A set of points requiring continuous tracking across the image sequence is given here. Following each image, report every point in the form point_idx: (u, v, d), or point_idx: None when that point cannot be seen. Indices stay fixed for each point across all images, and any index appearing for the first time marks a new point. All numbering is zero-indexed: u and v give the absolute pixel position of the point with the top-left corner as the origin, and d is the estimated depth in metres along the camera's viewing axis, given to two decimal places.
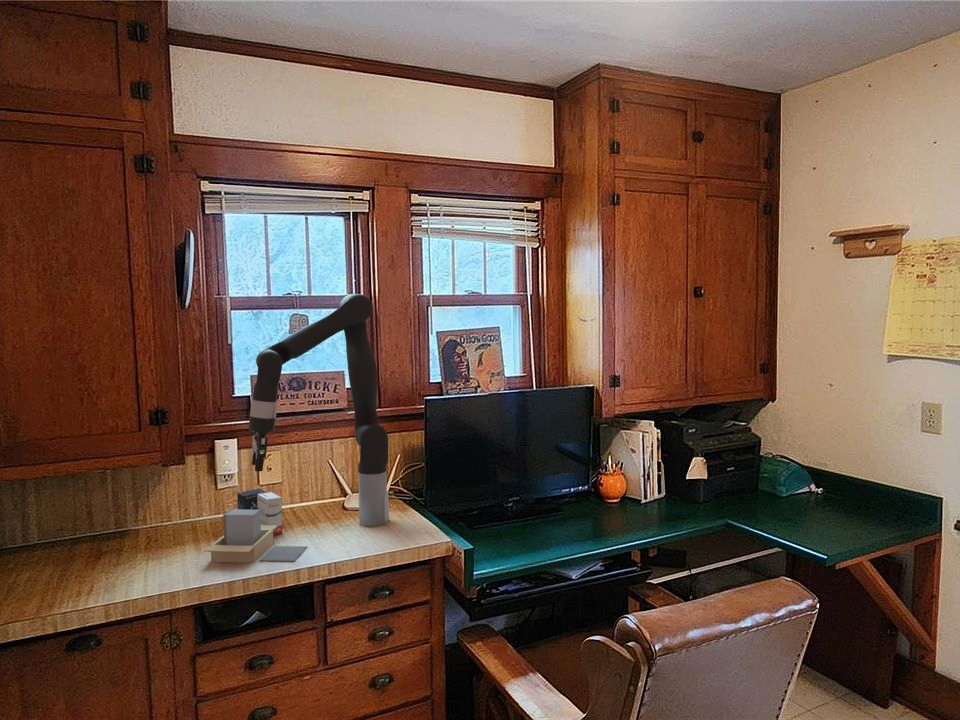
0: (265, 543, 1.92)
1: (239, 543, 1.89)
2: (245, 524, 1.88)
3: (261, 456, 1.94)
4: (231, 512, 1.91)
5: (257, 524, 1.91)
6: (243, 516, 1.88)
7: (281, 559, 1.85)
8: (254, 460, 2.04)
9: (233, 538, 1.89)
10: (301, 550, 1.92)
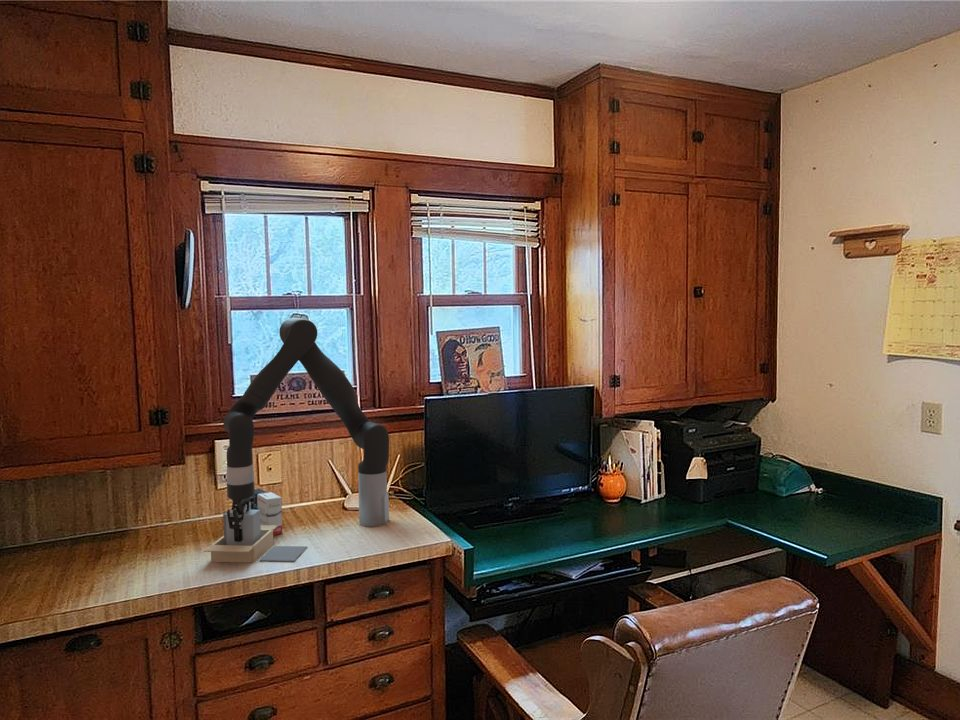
0: (265, 543, 1.92)
1: (239, 543, 1.89)
2: (245, 524, 1.88)
3: (233, 527, 1.85)
4: None
5: (257, 524, 1.91)
6: None
7: (281, 559, 1.85)
8: None
9: (232, 538, 1.89)
10: (301, 550, 1.92)
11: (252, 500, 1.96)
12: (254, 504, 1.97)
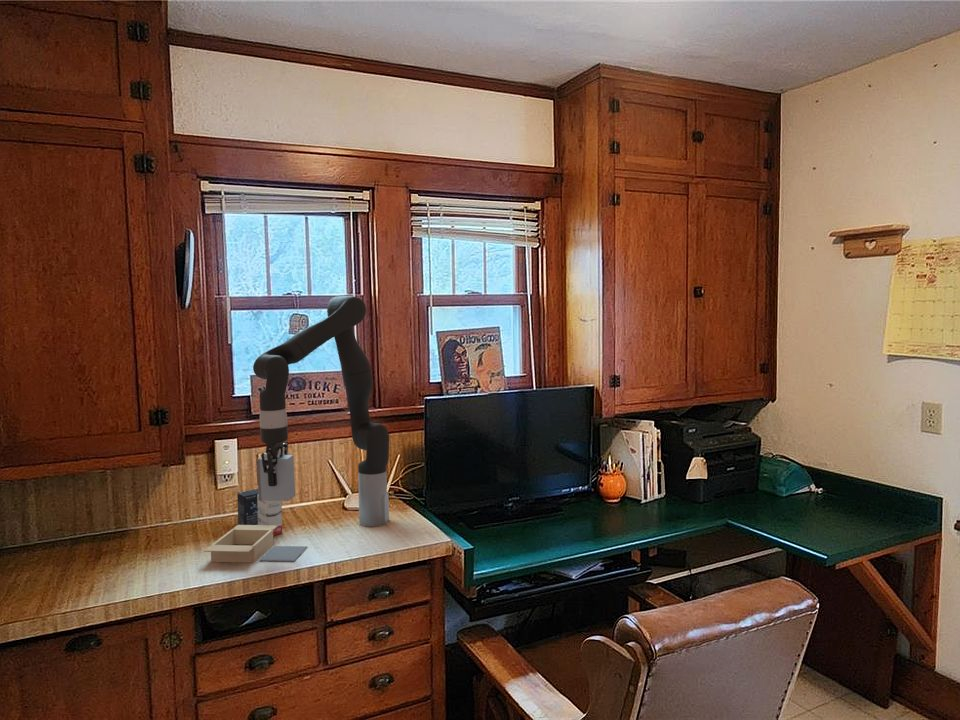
0: (265, 543, 1.92)
1: (273, 488, 1.87)
2: (279, 468, 1.86)
3: (267, 471, 1.83)
4: None
5: (291, 469, 1.89)
6: None
7: (281, 559, 1.85)
8: None
9: (266, 482, 1.87)
10: (301, 550, 1.92)
11: (285, 446, 1.94)
12: (287, 450, 1.94)
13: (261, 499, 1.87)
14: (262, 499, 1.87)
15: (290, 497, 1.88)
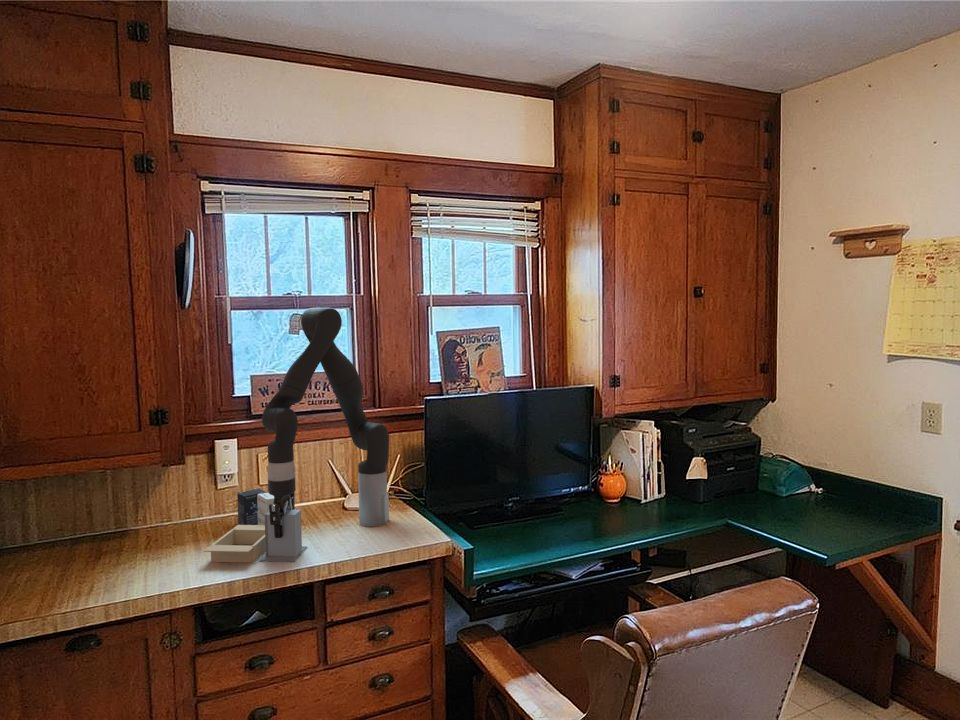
0: None
1: (280, 543, 1.87)
2: (287, 524, 1.87)
3: (274, 523, 1.83)
4: None
5: (298, 524, 1.89)
6: (285, 516, 1.87)
7: (281, 559, 1.85)
8: None
9: (274, 538, 1.87)
10: None
11: (292, 495, 1.94)
12: (294, 498, 1.95)
13: (268, 554, 1.88)
14: (269, 554, 1.88)
15: (297, 552, 1.88)
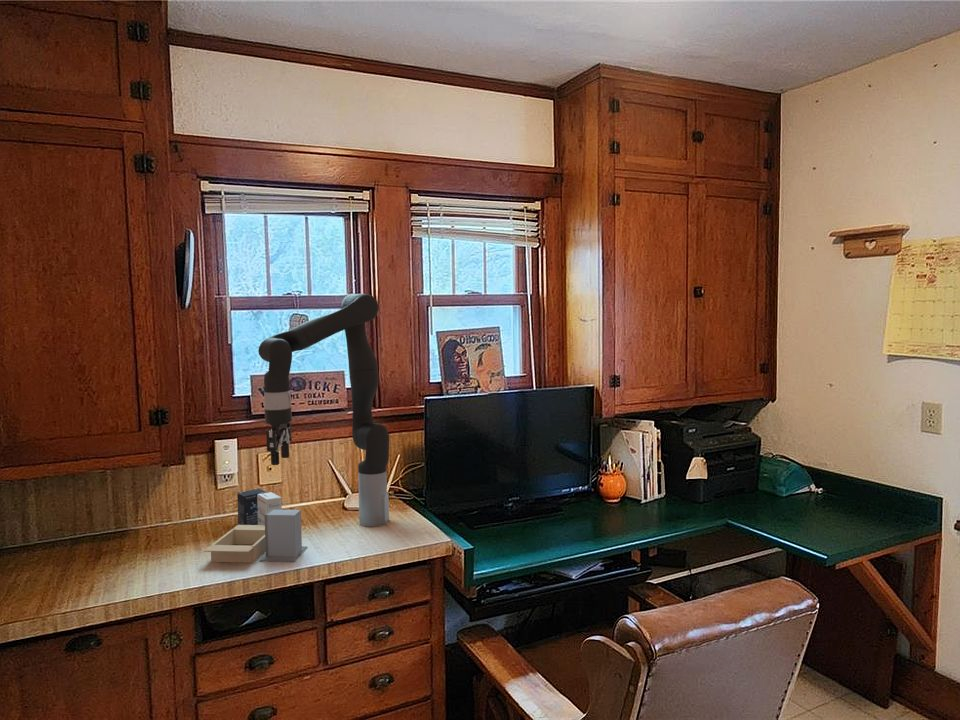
0: None
1: (280, 543, 1.87)
2: (287, 524, 1.87)
3: (271, 449, 1.86)
4: (272, 512, 1.89)
5: (298, 524, 1.89)
6: (285, 517, 1.86)
7: (281, 559, 1.85)
8: (283, 453, 1.97)
9: (274, 538, 1.87)
10: None
11: (288, 425, 1.98)
12: (290, 428, 2.00)
13: (268, 554, 1.88)
14: (269, 554, 1.88)
15: (297, 552, 1.88)
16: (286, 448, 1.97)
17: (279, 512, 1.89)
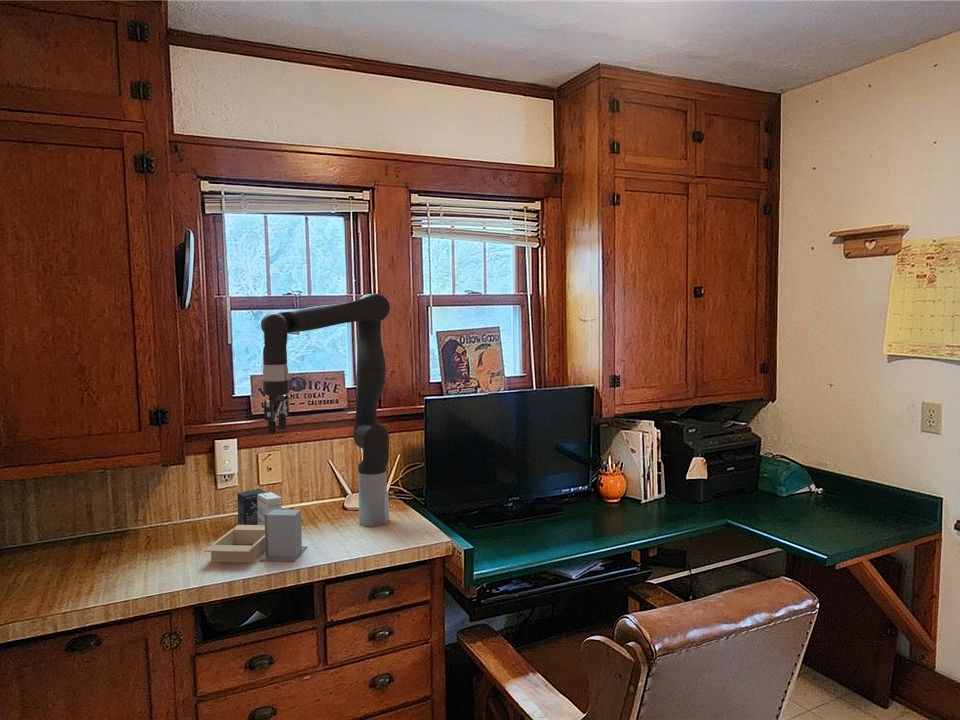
0: None
1: (280, 543, 1.87)
2: (287, 524, 1.87)
3: (268, 419, 1.95)
4: (272, 512, 1.89)
5: (298, 524, 1.89)
6: (285, 517, 1.86)
7: (281, 559, 1.85)
8: (280, 424, 2.06)
9: (274, 538, 1.87)
10: None
11: (286, 398, 2.08)
12: (288, 401, 2.09)
13: (268, 554, 1.88)
14: (269, 554, 1.88)
15: (297, 552, 1.88)
16: (283, 419, 2.06)
17: (279, 512, 1.89)
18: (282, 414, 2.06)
